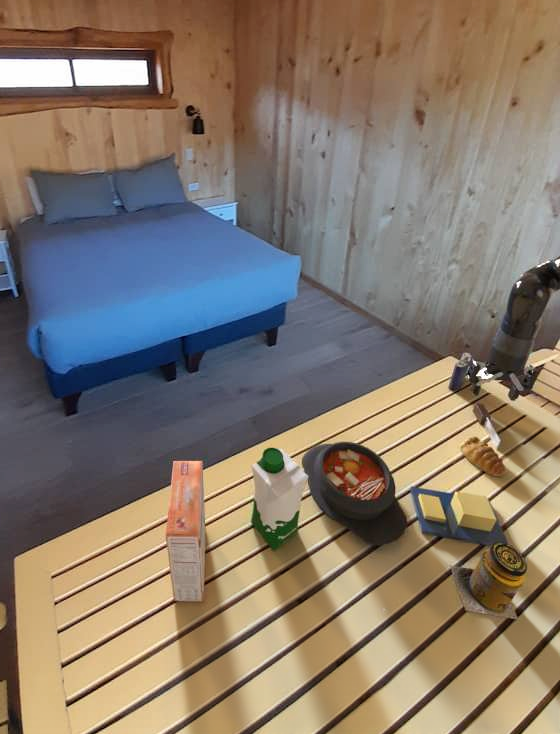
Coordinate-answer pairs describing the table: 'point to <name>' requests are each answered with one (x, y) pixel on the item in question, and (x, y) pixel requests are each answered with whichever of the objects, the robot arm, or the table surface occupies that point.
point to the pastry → (482, 456)
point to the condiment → (492, 581)
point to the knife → (486, 423)
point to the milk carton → (277, 496)
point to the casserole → (355, 491)
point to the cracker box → (187, 531)
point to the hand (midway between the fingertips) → (492, 396)
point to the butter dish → (452, 523)
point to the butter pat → (432, 508)
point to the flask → (460, 372)
